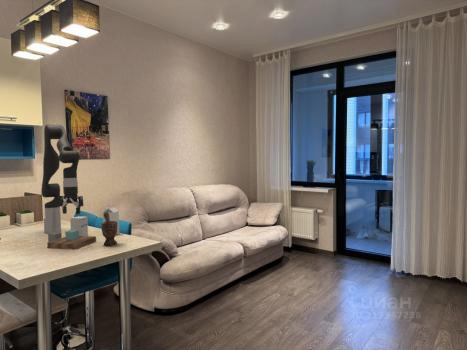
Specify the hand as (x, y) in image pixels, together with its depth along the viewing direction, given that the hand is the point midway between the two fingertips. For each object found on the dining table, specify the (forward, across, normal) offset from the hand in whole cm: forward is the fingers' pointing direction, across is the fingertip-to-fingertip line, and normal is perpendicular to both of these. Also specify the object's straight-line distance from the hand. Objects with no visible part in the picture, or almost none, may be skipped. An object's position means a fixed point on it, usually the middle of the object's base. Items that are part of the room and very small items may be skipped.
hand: (71, 213), depth 190 cm
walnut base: (+18, 0, 0) cm, 18 cm away
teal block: (+15, 0, 0) cm, 15 cm away
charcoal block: (+18, -16, +5) cm, 25 cm away
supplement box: (+18, -9, +18) cm, 27 cm away
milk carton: (+18, +8, +27) cm, 33 cm away
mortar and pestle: (+18, +23, +2) cm, 29 cm away
